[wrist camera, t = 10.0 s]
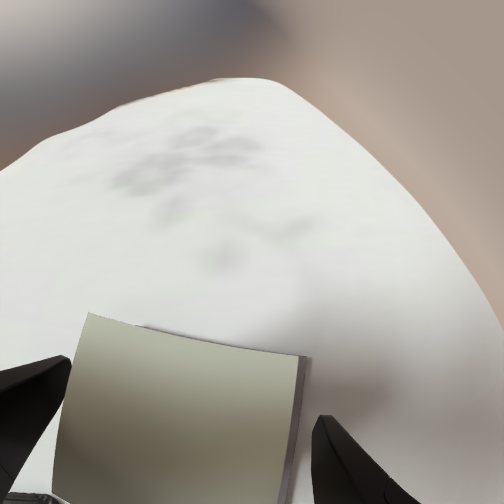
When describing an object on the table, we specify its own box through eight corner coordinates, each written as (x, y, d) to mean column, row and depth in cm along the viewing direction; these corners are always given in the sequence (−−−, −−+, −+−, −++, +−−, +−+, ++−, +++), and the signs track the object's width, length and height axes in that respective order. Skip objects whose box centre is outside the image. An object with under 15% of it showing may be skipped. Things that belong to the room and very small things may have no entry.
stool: (248, 485, 12) (264, 556, 4) (140, 461, 12) (51, 492, 4) (264, 387, 15) (298, 356, 7) (159, 366, 16) (88, 312, 8)
